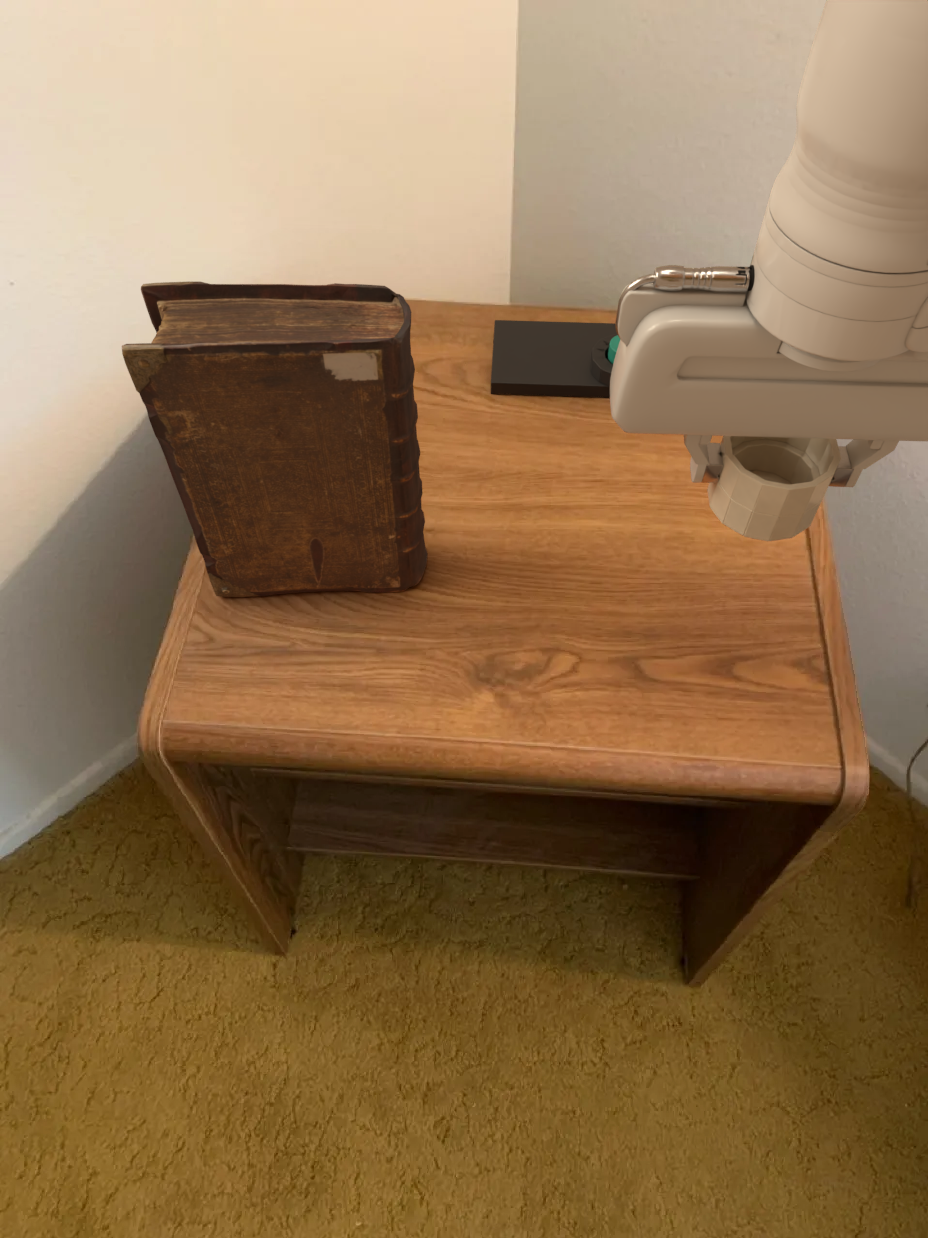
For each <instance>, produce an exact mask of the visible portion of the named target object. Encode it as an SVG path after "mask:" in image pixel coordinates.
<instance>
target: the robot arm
mask: <svg viewBox="0 0 928 1238" xmlns="http://www.w3.org/2000/svg"><path fill="white" fill-rule="evenodd" d="M821 12H822V13H821V16H820V19H819V22H818V24H817V27H816V30H815V33H814V37H813V40H812V44H811V47H810V50H809V53H808V56H807V60H806V63H805V67H804V71H803V74H802V78H801V82H800V85H799V89H798V93H797V98H796V108H795V117H796V118H795V119H796V129H795V130H796V131H795V137H794V141H793V145H792V149H791V151H790V153H789V155H788V157H787V159H786V161H785V163H784V164H783V165H782V167H781V168H780V170H779V172H778V174H777V176H776V177H775V179H774V182H773V184H772V187H771V190H770V193H769V197H768V200H767V204H766V207H765V211H764V214H763V218H762V220H761V221H762V222H761V225H760V229H759V232H758V236H757V239H756V244H755V247H754V250H753V255H752V257H751V261H750V264H749V266H733V265H731V266H730V265H729V266H722V265H721V266H720V265H718V266H717V265H716V266H715V265H714V266H706V267H684V265H676V264H675V265H673V264H671V265H670V264H669V265H661V266H657V267H654V271H653V273H648V274H644V275H643V276H640V277H637V278H635V279H634V280H633V281H631V282H630V283H628V284H626V285H625V287H624V288H623V290H622V292H621V294H620V296H619V298H618V301H617V302H618V303H617V310H616V316H615V322H614V323H615V327H616V332H617V334H618V336H619V338H620V342H619V345H618V349H617V352H616V356H615V359H614V363H613V368H612V372H611V378H610V398H609V403H610V404H609V405H610V406H609V407H610V414H611V419H612V420H613V421H614V422H615V424H616V425H617V426H618V427H619V428H620V429H621V430H622V432H625V433H628V434H637V435H640V434H641V435H643V434H644V435H646V434H648V435H679V436H681V435H682V436H683V442H684V446H685V448H686V450H687V451H688V453H689V455H690V456H691V457H690V462H689V472H690V478H691V479H690V481H691V483H693V484H694V483H695V484H709V483H718V481H719V474H721V472H722V468H723V460H722V456H721V455H720V454H721V446H720V445H721V442H711V441H712V438H713V437H714V436H715V437H716V436H717V437H723V436H747V437H784V438H820V439H836V440H851V441H850V442H848V443H847V444H846V445H840V446H839V445H838V448H839V452H840V456H841V459H840V462H839V464H838V466H837V469H836V471H835V473H834V476H833V478H832V480H831V482H830V484H829V486H828V487H833V488H834V487H835V488H854V487H855V486H856V484H857V481H858V480H859V478H860V476H861V474H862V472H863V470H866V469H868V468H869V467H871V466H872V465H874V464H875V463H877V462H878V461H880V460H881V459H883V458H885V457H886V456H888V455H890V454H892V453H893V452H894V451H895V450H896V447H898V444H899V442H928V0H826V1H825V3H824V7H823V9H822V11H821Z"/></svg>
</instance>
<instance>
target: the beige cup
mask: <svg viewBox="0 0 928 1238" xmlns="http://www.w3.org/2000/svg"><path fill="white" fill-rule="evenodd" d="M720 446H721V454H720V455H721V456H722V460H723V468H722V472H721V474H719V481H718V483H708V485H707V489H706V490H707V491H706V492H707V497H708V505H709V508H710V510H711V511H712V513H713V514H714V515H715V517H716V518H717V519H718V521H719V522H720V523H721V524H722V525H724V526H725V527H727V528H729V529H730V530H732V531H733V532H734V533H737V534H738V535H741V536H743V537H744V538H749V539H752V540H758V541H763V542H775V541H782V540H789V539H790V540H791V539H793V538H794V537H797V535H799V534H800V533H803V532H804V531H806V530H807V529H809V528H810V527H811V526H812V523H813V521H814V519H815V517H816V515H817V512H818V510H819V508H820V506H821V504H822V502H823V500H824V497H825V495H826V493H827V491H828V488H829V487H830V486H829V484H830V482H831V480H832V478H833V476H834V473H835V471H836V469H837V466H838V464H839V462H840V459H841V456H840V452H839V448H838V446H839V445H838V439H820V438H784V437H747V436H722V439H721V442H720Z"/></svg>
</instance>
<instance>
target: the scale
mask: <svg viewBox="0 0 928 1238" xmlns="http://www.w3.org/2000/svg"><path fill="white" fill-rule="evenodd" d="M493 324H494V325H493V339H492V340H493V344H492V355H491V356H492V359H491V375H490V394H491V395H509V396H510V395H512V396H513V395H515V396H541V397H543V396H545V397H575V398H603V399H604V398H605V399H607V398H608V399H610V378H611V372H612V368H613V364H612V363H611V362H610V361H609V359H608V351H609V344H610V341H611V339H612V338H613V337H615V336H617V335H618V334H617V332H616V327H615V322H614V323H613V322H611V323H610V322H582V321H581V322H577V321H545V320H543V321H540V320H508V319H507V320H506V319H495V320H494V323H493Z"/></svg>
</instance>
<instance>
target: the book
mask: <svg viewBox="0 0 928 1238" xmlns="http://www.w3.org/2000/svg"><path fill="white" fill-rule="evenodd" d="M140 291H141V295H142V298H143V302H144V304H145V308H146V311H147V313H148V316H149V319H150V322H151V324H152V327H153V329H154V330H155V333H156V334H155V336H154V337H153V339H152V340H151V342H149V343H147V342H146V343H145V342H144V343H142V342H141V343H140V342H139V343H125V344H122V345H121V355H122V357H123V360H124V365H125V366H126V369H127V371H128V374H129V376H130V379H131V381H132V383H133V386H134V388H135V391H136V392H137V393H138V394H139V396H140V398H141V401H142V403H143V405H144V406H145V409H146V412H147V417H148V420H149V424H150V425H151V428H152V431H153V433H154V436H155V437H156V439H157V441H158V444H159V446H160V448H161V451H162V453H163V455H164V459H165V461H166V463H167V466H168V470H169V472H170V475H171V477H172V480H173V483H174V484H175V488H176V491H177V493H178V495H179V498H180V500H181V503H182V506H183V509H184V511H185V513H186V517H187V519H188V522H189V525H190V527H191V529H192V533H193V536H194V540H195V543H196V545H197V548H198V551H199V553H200V555H201V556H202V558H203V561H204V565H205V570H206V573H207V576H208V579H209V582H210V585H211V587H212V590H213V592H214V595H215V597H223V598H224V597H225V598H226V597H227V598H229V597H230V598H231V597H232V598H245V597H247V598H248V597H263V596H265V597H266V596H267V597H269V596H271V595H283V594H295V593H296V594H297V593H312V592H361V593H398V592H406V591H407V590H408V589H409V588H410V587H415V586H417V585H418V584H419V583H420V582H421V580H422V578H423V576H424V574H425V570H426V568H427V563H428V554H429V553H428V550H427V546H426V541H425V536H424V535H425V534H424V529H425V524H426V518H425V513H424V511H423V507H422V497H423V494H424V493H423V480H422V478H421V477H420V476H421V473H420V472H421V471H420V457H421V447H420V444H419V440H418V433H417V432H418V431H417V424H418V419H419V418H418V417H419V413H418V403H417V401H416V400H415V390H414V380H415V373H416V372H415V371H416V367H415V362H414V358H413V355H412V347H411V329H412V309H411V306H410V304H409V303H408V302H407V301H406V299H405V297H404V296H403V295H402V294H400V293H396V292H395V291H393V290H392V289H391V288H389V287H387V286H386V285H380V284H363V283H362V284H361V283H329V284H293V283H289V284H288V283H244V284H243V283H208V282H203V281H167V282H166V281H165V282H164V281H163V282H151V283H143V284H142V285H141V286H140Z"/></svg>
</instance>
